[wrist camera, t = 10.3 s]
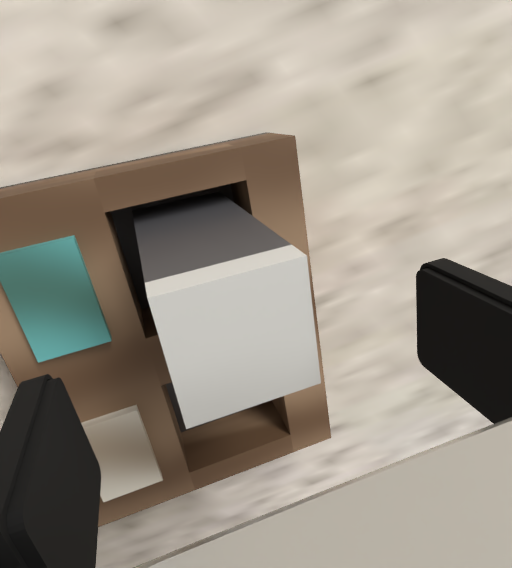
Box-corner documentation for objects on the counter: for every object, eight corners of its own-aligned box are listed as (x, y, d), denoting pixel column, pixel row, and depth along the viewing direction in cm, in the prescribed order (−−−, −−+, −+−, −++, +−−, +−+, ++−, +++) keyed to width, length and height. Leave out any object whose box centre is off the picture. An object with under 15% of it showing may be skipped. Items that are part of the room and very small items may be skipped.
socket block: (305, 399, 26) (334, 442, 23) (93, 475, 23) (90, 537, 20) (266, 132, 19) (298, 136, 16) (-37, 195, 17) (-76, 215, 13)
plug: (233, 270, 21) (321, 382, 12) (154, 291, 20) (186, 429, 11) (218, 191, 19) (306, 255, 10) (132, 210, 18) (147, 298, 10)
